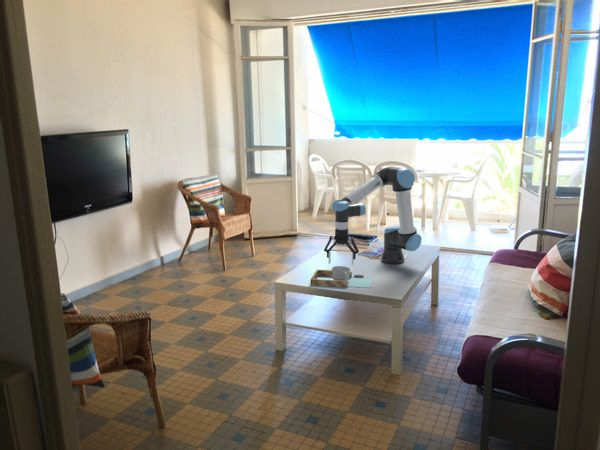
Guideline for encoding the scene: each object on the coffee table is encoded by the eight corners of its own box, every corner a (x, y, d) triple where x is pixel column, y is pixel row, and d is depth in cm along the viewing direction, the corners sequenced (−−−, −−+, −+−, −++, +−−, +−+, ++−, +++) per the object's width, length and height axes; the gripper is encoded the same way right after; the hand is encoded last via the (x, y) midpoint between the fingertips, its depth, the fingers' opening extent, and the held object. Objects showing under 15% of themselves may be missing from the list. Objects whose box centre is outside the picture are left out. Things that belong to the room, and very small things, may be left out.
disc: (364, 275, 321) (364, 275, 321) (363, 278, 316) (363, 278, 316) (354, 274, 323) (354, 274, 323) (353, 277, 317) (353, 277, 317)
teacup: (330, 278, 317) (330, 265, 315) (348, 277, 317) (348, 264, 316) (333, 285, 303) (334, 272, 301) (352, 285, 304) (352, 271, 302)
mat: (372, 279, 314) (372, 278, 314) (369, 288, 299) (369, 287, 299) (350, 277, 317) (350, 277, 317) (347, 286, 302) (347, 286, 302)
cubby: (351, 277, 318) (351, 271, 317) (347, 287, 300) (347, 281, 299) (316, 275, 323) (316, 269, 322) (310, 285, 305) (310, 279, 304)
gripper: (364, 228, 304) (363, 263, 308) (321, 226, 309) (321, 260, 314) (362, 230, 297) (361, 267, 301) (319, 228, 302) (318, 264, 307)
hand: (341, 263), depth 308 cm, fingers open, 13 cm apart
